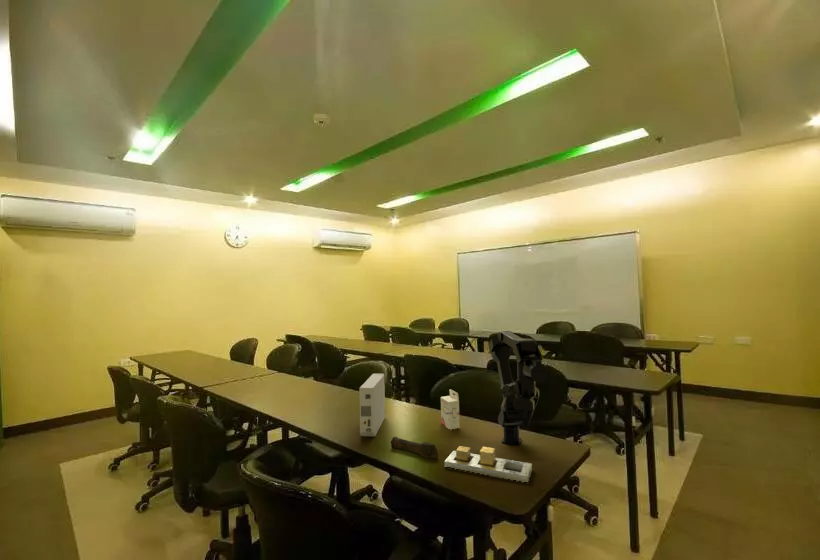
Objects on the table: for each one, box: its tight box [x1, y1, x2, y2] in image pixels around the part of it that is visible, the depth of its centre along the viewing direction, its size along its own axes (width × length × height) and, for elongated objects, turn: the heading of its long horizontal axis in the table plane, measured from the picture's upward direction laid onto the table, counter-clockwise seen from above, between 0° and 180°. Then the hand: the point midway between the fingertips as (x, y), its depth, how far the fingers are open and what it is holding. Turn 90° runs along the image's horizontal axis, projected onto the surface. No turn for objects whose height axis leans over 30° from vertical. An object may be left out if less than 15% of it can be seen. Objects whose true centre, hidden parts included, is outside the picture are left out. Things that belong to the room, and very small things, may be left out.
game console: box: [359, 373, 386, 437], centre depth 159 cm, size 6×27×20 cm, turn 174°
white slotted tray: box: [444, 445, 533, 483], centre depth 118 cm, size 9×26×5 cm, turn 65°
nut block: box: [479, 446, 496, 467], centre depth 118 cm, size 4×4×6 cm
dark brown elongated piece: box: [390, 436, 439, 459], centre depth 131 cm, size 19×4×5 cm, turn 53°
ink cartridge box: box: [440, 388, 461, 431], centre depth 158 cm, size 9×5×15 cm, turn 22°
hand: (527, 422), depth 125 cm, fingers open, 9 cm apart
